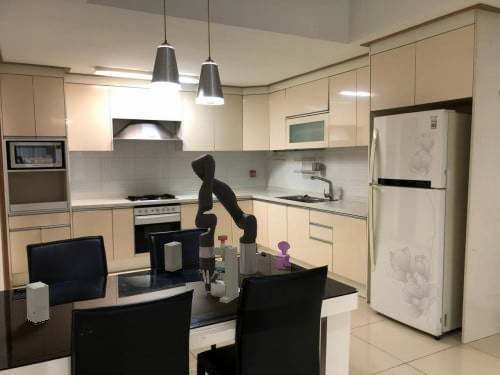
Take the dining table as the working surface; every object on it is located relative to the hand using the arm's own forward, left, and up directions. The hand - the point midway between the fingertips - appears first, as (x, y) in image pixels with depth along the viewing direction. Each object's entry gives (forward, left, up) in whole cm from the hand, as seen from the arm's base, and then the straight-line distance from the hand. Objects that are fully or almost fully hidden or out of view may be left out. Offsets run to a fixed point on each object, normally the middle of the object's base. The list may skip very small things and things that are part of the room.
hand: (208, 290), depth 188 cm
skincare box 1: (+57, -44, -1) cm, 72 cm away
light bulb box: (-19, -3, -1) cm, 19 cm away
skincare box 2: (-26, -43, -1) cm, 51 cm away
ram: (0, +9, +13) cm, 16 cm away
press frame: (0, +11, -1) cm, 11 cm away
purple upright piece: (-56, +14, -1) cm, 58 cm away
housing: (0, +7, -1) cm, 7 cm away
